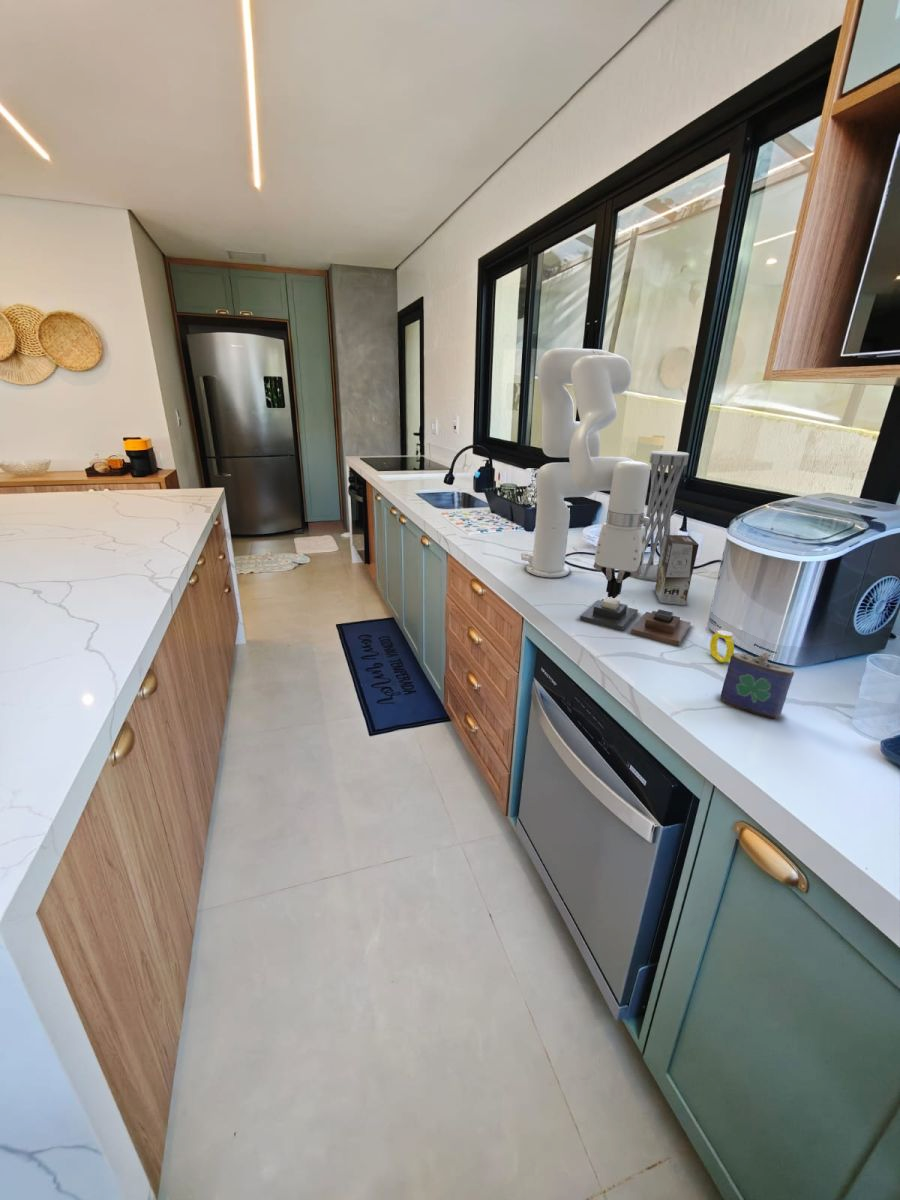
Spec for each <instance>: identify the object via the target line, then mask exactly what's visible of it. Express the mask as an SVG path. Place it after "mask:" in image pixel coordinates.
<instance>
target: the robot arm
mask: <svg viewBox="0 0 900 1200" xmlns="http://www.w3.org/2000/svg"><path fill="white" fill-rule="evenodd" d="M632 371H633V370H632V366H631V363H630V361H629V360H628V359H627V358H625V357H624V356H622V355H619V354H616V353H614V352H610V351H608V350H605V349H597V348H579V347H555V348H551V349H549V350H547V351H545V352H544V353H543V355H542V356H541V357H540V360H539V363H538V367H537V387H538V391H539V395H540V401H541V448H542V453H543V454H544V455H545V456H546V457H549V458H568V460H569V461H568V462H567V461H566V462H565V461H563V462H549V463H545V464H544V465H542V466H540V467H539V468H538V470H537V472H536V475H535V489H536V514H535V526H534V538H533V550H532V553H530V552H525V551H522V553H521V555H520V557H521V561H524V562H528V564H526V572H528V573H530V574H532V575H534V576H536V577H537V576H538V577H542V578H553V579H554V578H562V577H565V576H567V575H569V573H570V567H569V566H568V565H566V564H565V563H566V554H567V548H568V547H567V546H568V537H569V529H570V520H571V513H570V509H569V507H568V505H567V503H566V501H565V498H580V497H581V498H582V497H583V498H584V497H589V496H591V495H593V494H594V493H596V492H600V491H602V492H605V491H608V492H609V499H608V505H607V507H608V508H607V515H606V521H604V522H603V523H602V526H601V528H600V532H599V536H598V538H597V539H598V540H597V543H596V547H595V553H594V563H593V566H592V567H593V569H595V570H597V571H600V572H601V573H602V574H603V575H604V576H605V579H606V581H607V584H606V588H605V589H606V590H605V592H606V593H607V597H609V598H613V599H616V598H617V597H619V595H621V593H622V588H623V581H625V580H626V579H628V578H635V577H639V576H640V575H641V566H642V565H643V563H644V561H645V553H644V552H646V551H645V527H644V526H643V524H645V523H649V520H650V518H649V517H646V514H645V508H646V507H645V506H646V501H647V495H648V488H649V482H650V478H651V465H649V464H648V463H647V462H643V461H635V460H634V459H632V458H630V457H627V456H601V436H600V432H599V431H601V430H603V429H605V428H607V427H608V426H610V425H611V424H613V422H614V421H615V420H616V418H617V416H618V408H617V404H616V399H615V396H614V395H620V394H623V393H625V392H626V391H627V390H628V389H629V387H630V386H631V383H632V379H633V372H632ZM565 385H572V389H573V394H574V398H575V402H574V400H573V397H572V395H571V394H570V392H569V390H568V389H567V387H565ZM575 404H576V408H577V413H578V417H579V421H576V420H575ZM616 570H617V571H618V573H617V576H616Z"/></svg>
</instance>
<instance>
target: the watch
mask: <svg viewBox="0 0 900 1200" xmlns="http://www.w3.org/2000/svg"><path fill="white" fill-rule="evenodd" d="M733 636H734V634H733V633H732V632H731V631H728V630H724V629H718V630H717V631H716V632H714V634H713V635H712V636H711V638H710V641H709V650H710V654H711V656H712V658H714V659H716V660H717V661H718V662H719V663H729V662H730V659H731V656H732V654H734V653H735V644H734V640H733ZM719 638H722V639H724V641H725V645H726V652H725V656H724V657H722V656H721V655H720V654H719V651H718V642H719Z"/></svg>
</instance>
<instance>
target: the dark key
mask: <svg viewBox="0 0 900 1200" xmlns="http://www.w3.org/2000/svg"><path fill="white" fill-rule="evenodd" d="M673 616H674V612H673V611H669V610H665V609H661V608H659V609H657V611H656V613H655V618H654V620H658V621H662V622H667V623H670V622H671V620H672V617H673Z"/></svg>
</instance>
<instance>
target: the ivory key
mask: <svg viewBox="0 0 900 1200" xmlns="http://www.w3.org/2000/svg"><path fill="white" fill-rule="evenodd" d="M604 599H605V600H603V603H602V607H605V608H610V609H614V610H616V609H617V608H618V607H619V605H620V603H621V600H620V599H617V598H612V597H608V596H607V597H606V598H604Z"/></svg>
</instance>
